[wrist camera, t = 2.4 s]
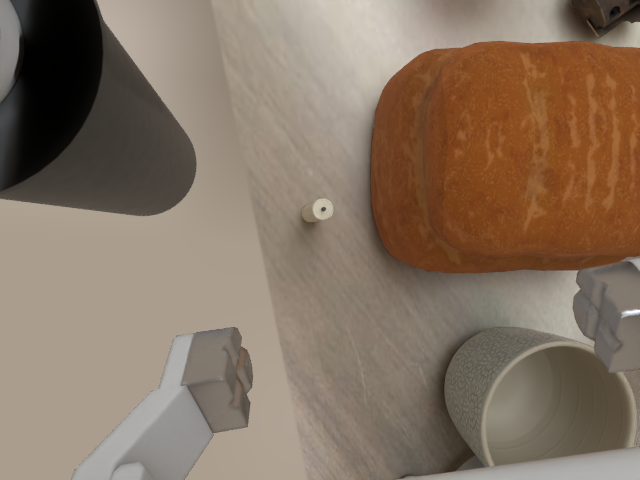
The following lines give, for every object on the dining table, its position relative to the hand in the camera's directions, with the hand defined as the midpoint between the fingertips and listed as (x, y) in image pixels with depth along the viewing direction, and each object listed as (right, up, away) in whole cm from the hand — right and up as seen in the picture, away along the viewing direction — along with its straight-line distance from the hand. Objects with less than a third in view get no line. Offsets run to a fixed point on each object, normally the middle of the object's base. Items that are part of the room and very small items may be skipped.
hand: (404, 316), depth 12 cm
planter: (+14, -12, +34) cm, 39 cm away
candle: (-3, +4, +32) cm, 32 cm away
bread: (+13, +8, +34) cm, 37 cm away
